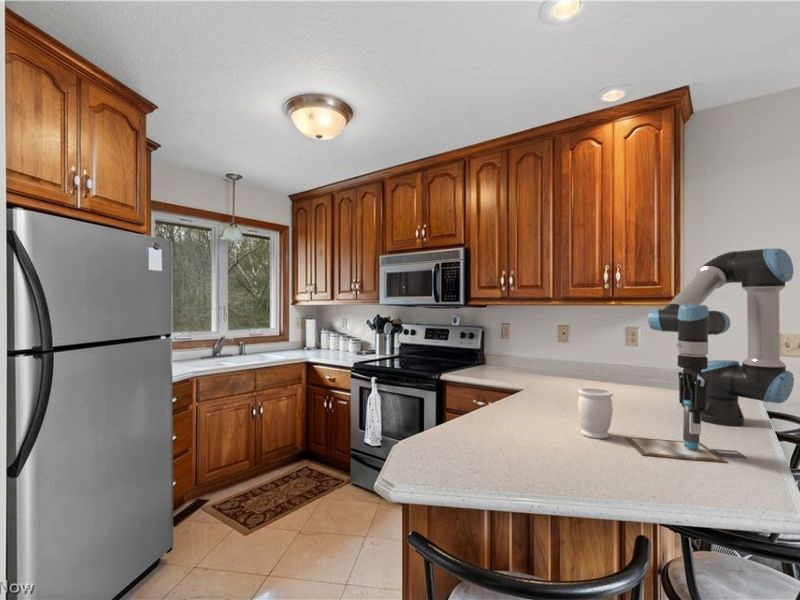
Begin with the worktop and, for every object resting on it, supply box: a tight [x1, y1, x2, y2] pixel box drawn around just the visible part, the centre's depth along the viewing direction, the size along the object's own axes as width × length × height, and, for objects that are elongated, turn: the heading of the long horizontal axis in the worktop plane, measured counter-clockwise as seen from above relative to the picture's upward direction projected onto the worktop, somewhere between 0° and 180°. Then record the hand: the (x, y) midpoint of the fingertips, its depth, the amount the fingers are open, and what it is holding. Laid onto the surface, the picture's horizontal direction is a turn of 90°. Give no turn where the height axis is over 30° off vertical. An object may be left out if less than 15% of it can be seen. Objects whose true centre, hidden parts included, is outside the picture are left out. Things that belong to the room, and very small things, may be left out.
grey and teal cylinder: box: [682, 400, 700, 449], centre depth 126 cm, size 4×4×14 cm
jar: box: [577, 387, 614, 440], centre depth 140 cm, size 11×10×15 cm
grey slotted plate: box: [710, 448, 748, 459], centre depth 124 cm, size 7×5×1 cm
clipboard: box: [625, 436, 729, 464], centre depth 127 cm, size 22×16×1 cm
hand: (691, 431), depth 126 cm, fingers closed on grey and teal cylinder, 4 cm apart
